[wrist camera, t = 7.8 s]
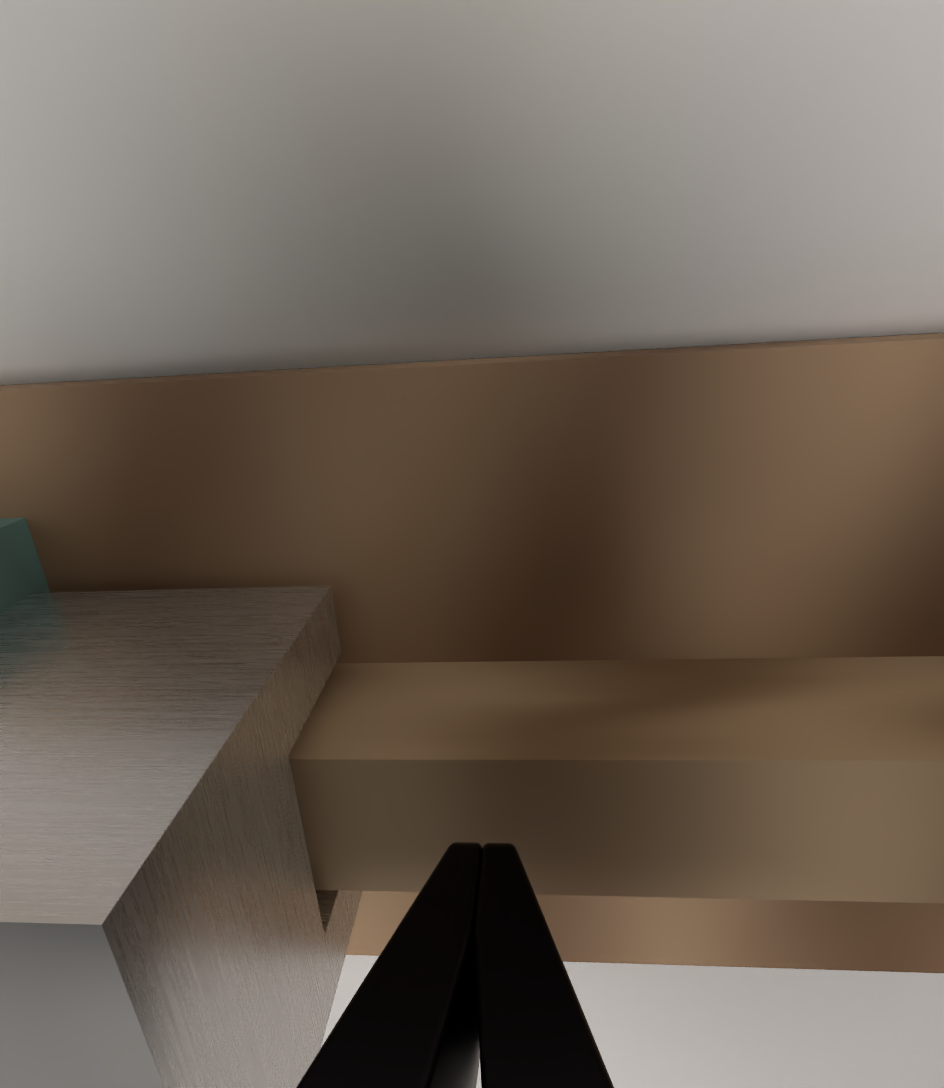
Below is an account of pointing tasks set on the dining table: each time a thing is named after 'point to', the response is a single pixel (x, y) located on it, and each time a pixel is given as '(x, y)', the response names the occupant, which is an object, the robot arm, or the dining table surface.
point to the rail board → (567, 621)
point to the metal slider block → (162, 840)
